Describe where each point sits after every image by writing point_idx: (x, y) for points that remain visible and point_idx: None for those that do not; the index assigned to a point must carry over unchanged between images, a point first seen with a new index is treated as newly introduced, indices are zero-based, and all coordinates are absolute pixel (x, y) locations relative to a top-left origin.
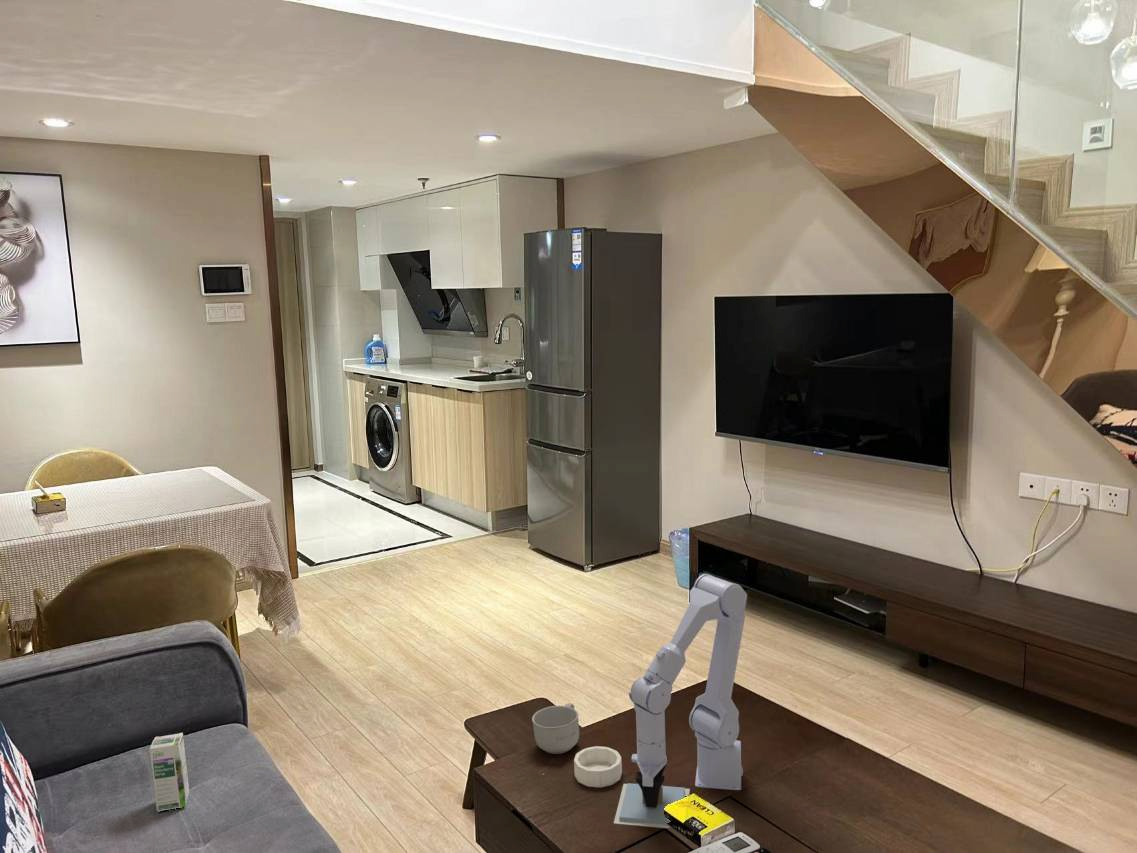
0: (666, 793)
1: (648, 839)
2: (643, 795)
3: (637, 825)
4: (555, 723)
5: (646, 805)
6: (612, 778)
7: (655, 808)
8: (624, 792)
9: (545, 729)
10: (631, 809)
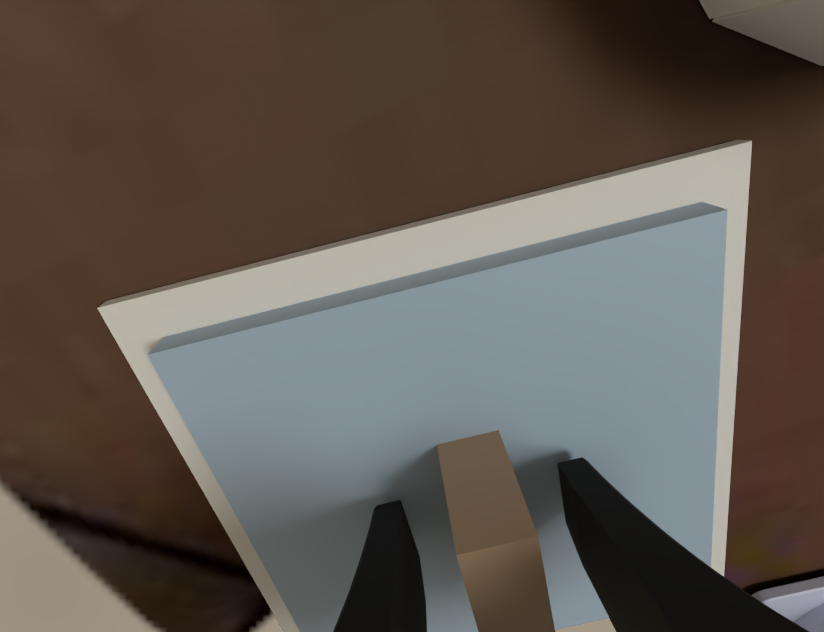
0: None
1: (121, 553)
2: (343, 608)
3: (194, 470)
4: None
5: (371, 518)
6: (790, 5)
7: None
8: (596, 212)
9: None
10: (312, 402)
